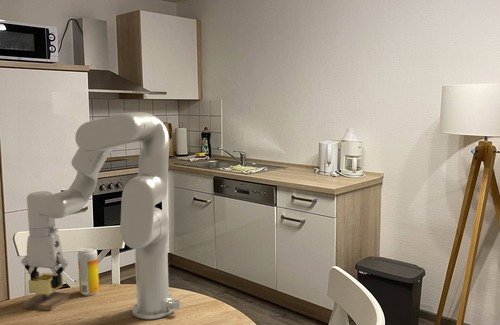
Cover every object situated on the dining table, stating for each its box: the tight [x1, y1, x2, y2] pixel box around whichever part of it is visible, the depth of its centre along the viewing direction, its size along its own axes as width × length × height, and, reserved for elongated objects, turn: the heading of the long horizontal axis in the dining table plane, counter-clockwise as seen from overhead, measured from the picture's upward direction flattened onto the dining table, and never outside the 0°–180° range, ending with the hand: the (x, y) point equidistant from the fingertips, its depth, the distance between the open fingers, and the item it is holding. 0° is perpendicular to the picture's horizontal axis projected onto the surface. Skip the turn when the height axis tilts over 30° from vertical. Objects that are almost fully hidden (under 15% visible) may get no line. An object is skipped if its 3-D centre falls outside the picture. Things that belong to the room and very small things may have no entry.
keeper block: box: [22, 291, 71, 312], centre depth 150 cm, size 10×10×7 cm
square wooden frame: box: [28, 272, 64, 295], centre depth 150 cm, size 7×7×4 cm
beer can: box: [77, 246, 100, 297], centre depth 158 cm, size 6×6×15 cm
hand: (46, 285), depth 150 cm, fingers closed on square wooden frame, 7 cm apart
